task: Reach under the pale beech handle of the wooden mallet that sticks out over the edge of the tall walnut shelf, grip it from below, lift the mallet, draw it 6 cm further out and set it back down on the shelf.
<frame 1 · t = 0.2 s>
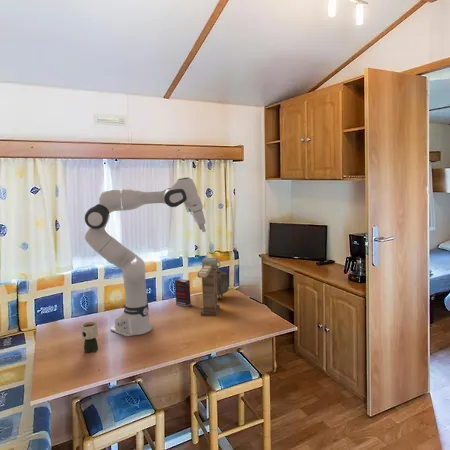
hand: (203, 230, 202), 51 cm above the table, tool tilted 20°, fingers open, 8 cm apart
mallet: (208, 268, 223), point 26 cm above the table, touching walnut shelf
character mug: (91, 350, 179), on the table
tabletop clock: (217, 299, 248), on the table
supplement box: (183, 304, 239), on the table
walnut shelf: (210, 311, 224), on the table
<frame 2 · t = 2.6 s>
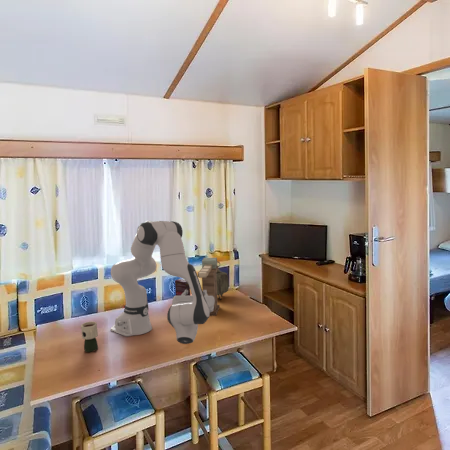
hand: (195, 290, 187), 24 cm above the table, tool pointing upward, fingers open, 8 cm apart
nothing on the table moved.
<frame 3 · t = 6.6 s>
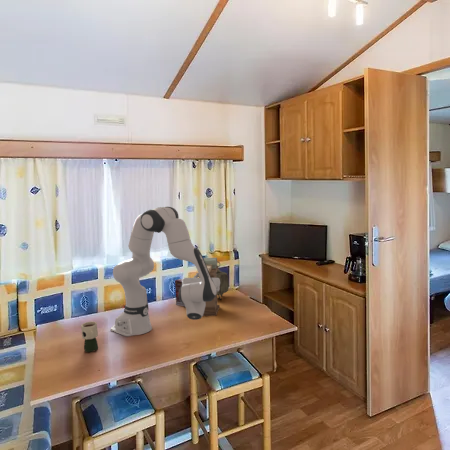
hand: (203, 273, 205), 28 cm above the table, tool pointing upward, fingers closed on mallet, 4 cm apart
mallet: (208, 268, 223), point 26 cm above the table, touching gripper, walnut shelf
everything else where it was.
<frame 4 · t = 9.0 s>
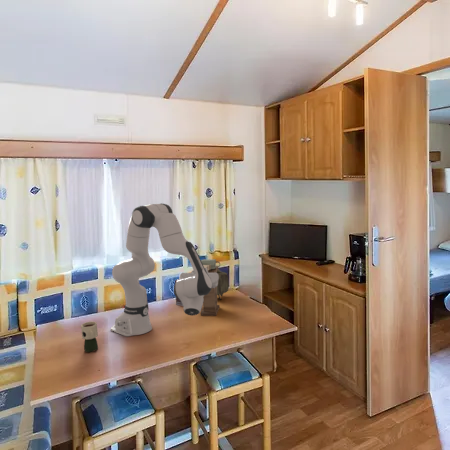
hand: (200, 268, 200), 32 cm above the table, tool pointing upward, fingers closed on mallet, 4 cm apart
mallet: (207, 269, 218), point 27 cm above the table, tilted 8°, touching gripper
everything else where it was.
when the fingers open (29 cm above the table, at t = 10.2 s): mallet stays where it is, resting on walnut shelf.
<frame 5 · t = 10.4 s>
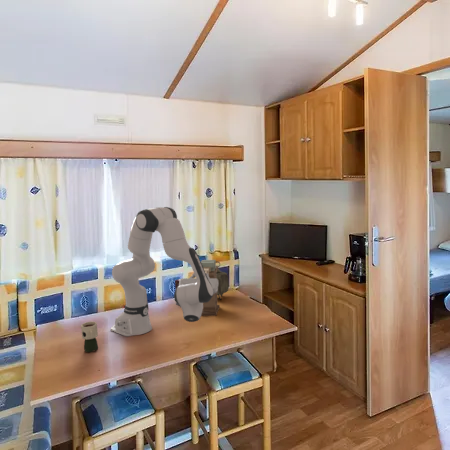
hand: (200, 274, 199), 29 cm above the table, tool pointing upward, fingers open, 5 cm apart
mallet: (207, 271, 217), point 26 cm above the table, touching walnut shelf
everything else where it was.
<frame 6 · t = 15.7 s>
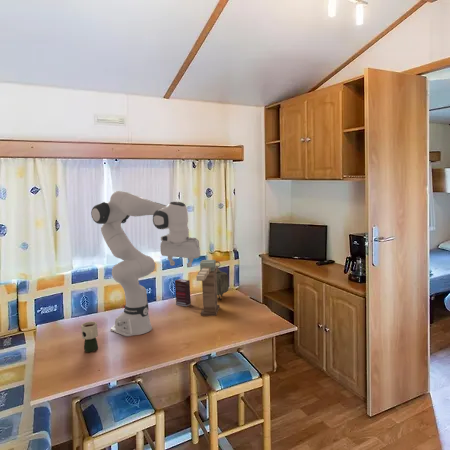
hand: (180, 266, 175), 39 cm above the table, tool pointing down, fingers open, 8 cm apart
nothing on the table moved.
at the end: mallet moved 5.9 cm from its start; mallet point 26.0 cm above the table; the gripper is holding nothing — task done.
